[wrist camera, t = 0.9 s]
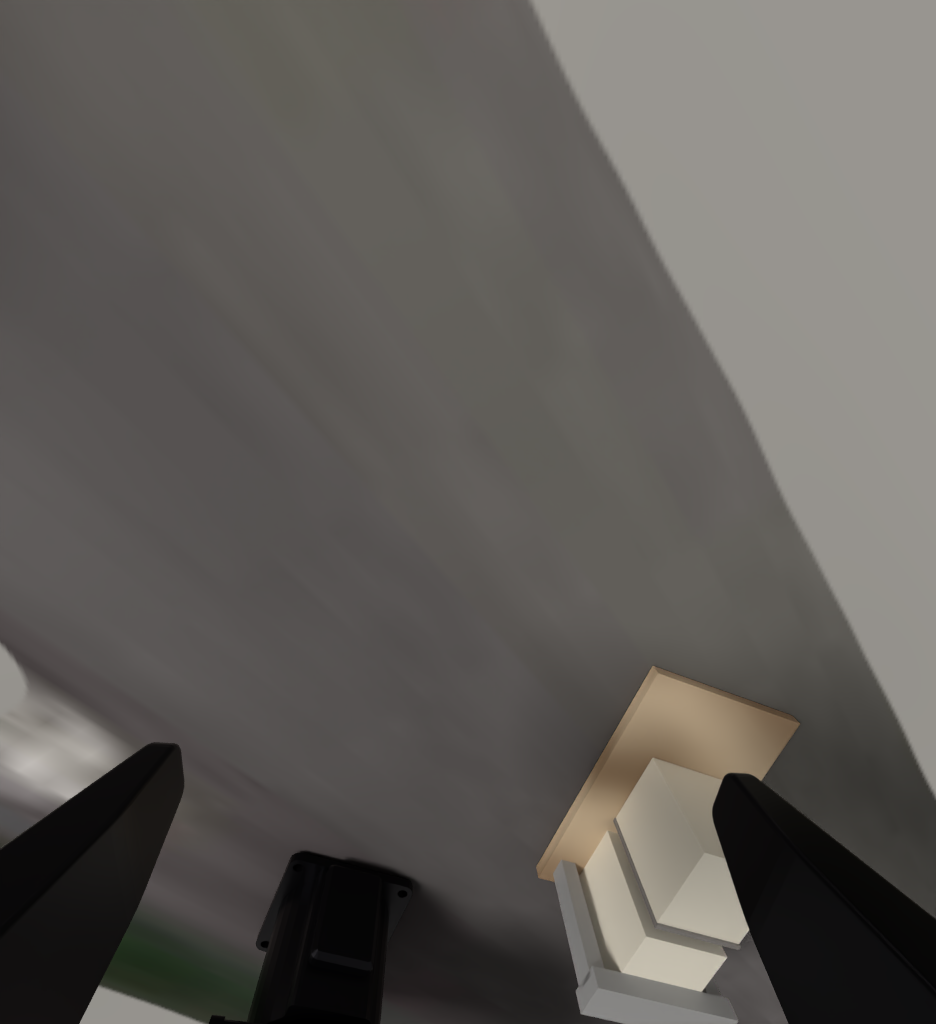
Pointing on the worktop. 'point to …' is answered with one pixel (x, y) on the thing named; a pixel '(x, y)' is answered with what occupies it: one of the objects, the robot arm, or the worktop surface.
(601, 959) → the bracketed cream block
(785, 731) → the board
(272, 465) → the worktop surface
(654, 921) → the stub
